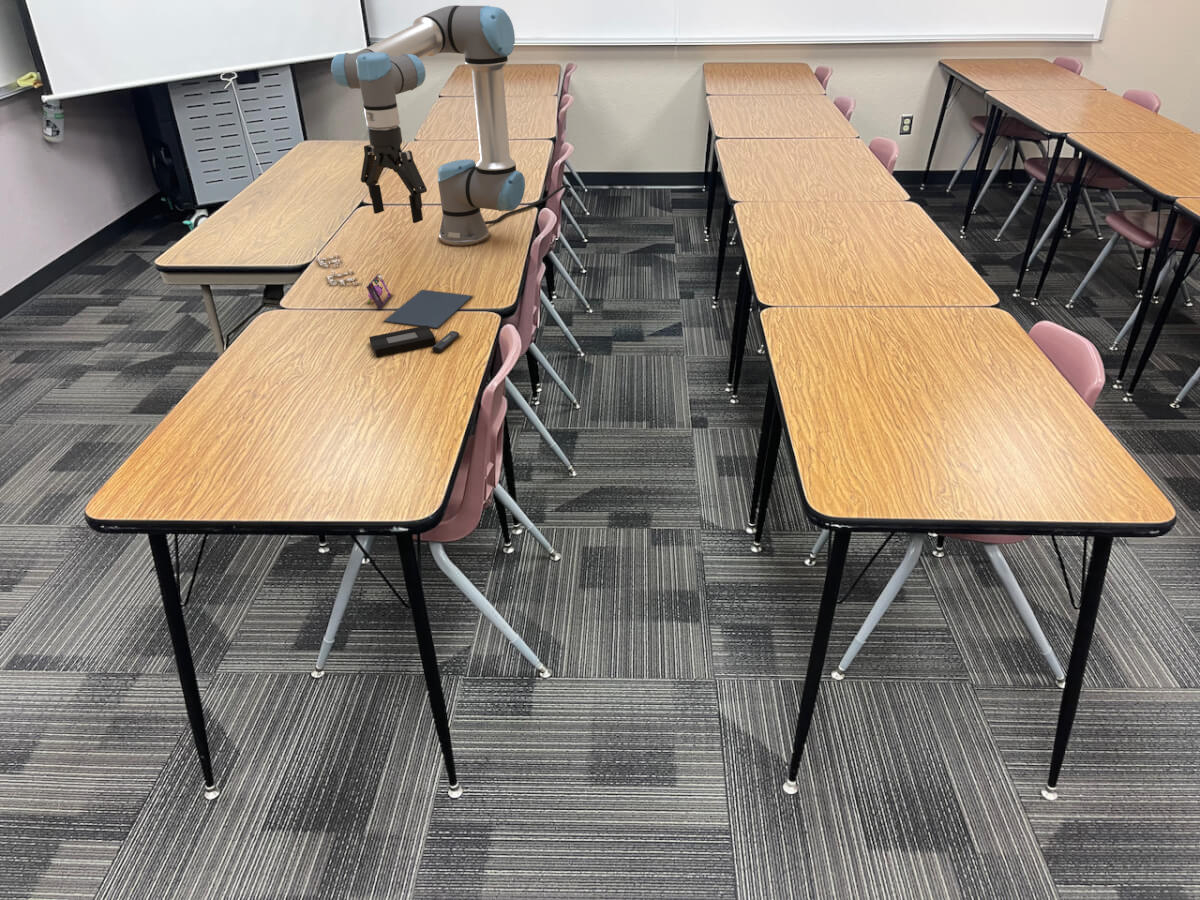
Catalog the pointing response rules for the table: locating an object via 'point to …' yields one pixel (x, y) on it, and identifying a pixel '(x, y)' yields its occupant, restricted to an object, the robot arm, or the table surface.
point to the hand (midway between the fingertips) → (398, 216)
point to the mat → (428, 309)
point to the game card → (377, 291)
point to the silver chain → (334, 271)
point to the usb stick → (445, 341)
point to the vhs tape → (402, 340)
